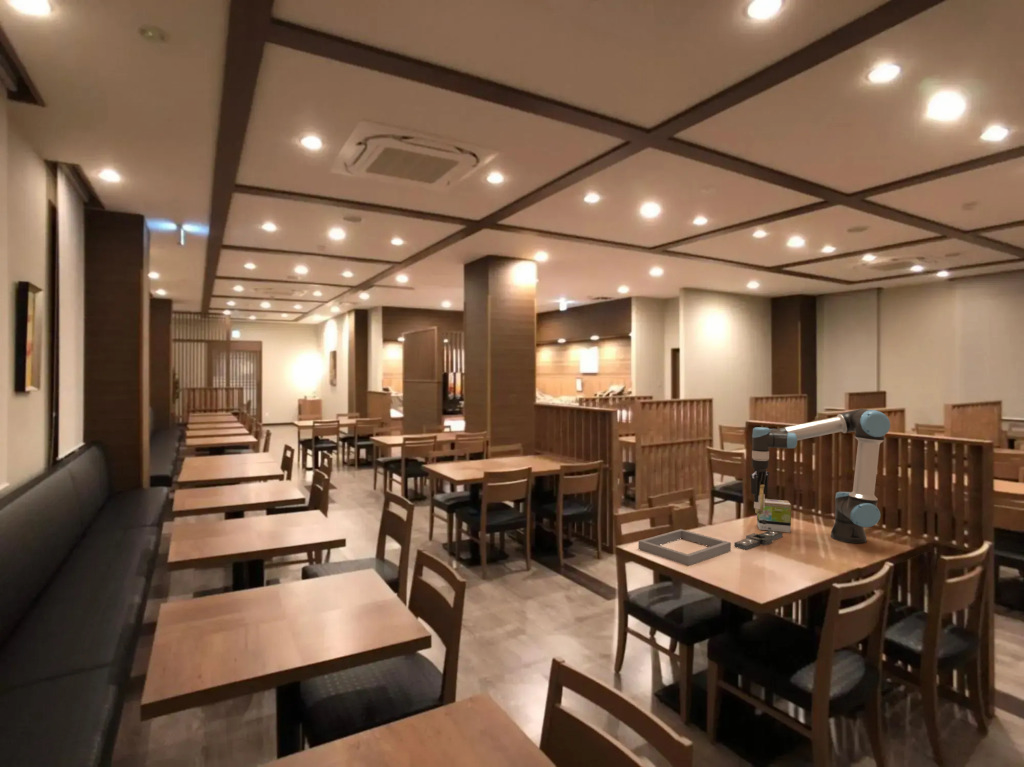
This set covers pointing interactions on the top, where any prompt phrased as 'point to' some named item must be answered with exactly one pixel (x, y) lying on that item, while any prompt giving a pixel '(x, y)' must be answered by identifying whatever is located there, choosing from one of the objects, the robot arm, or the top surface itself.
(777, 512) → the tea box
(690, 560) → the frame
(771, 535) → the chain ends
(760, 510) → the pin
